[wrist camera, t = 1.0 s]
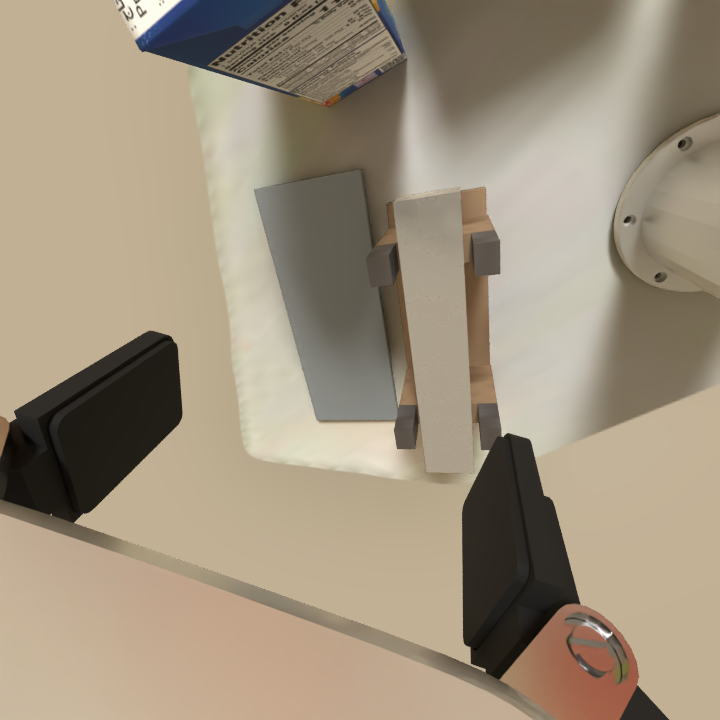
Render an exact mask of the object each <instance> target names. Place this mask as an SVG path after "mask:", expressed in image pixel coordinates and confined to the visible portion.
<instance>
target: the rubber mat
mask: <svg viewBox="0 0 720 720" xmlns="http://www.w3.org/2000/svg"><path fill="white" fill-rule="evenodd" d="M254 192H255V196H256V200H257V203H258V207H259V211H260V214H261V218H262V222H263V225H264V229H265V233H266V236H267V240H268V244H269V247H270V251H271V255H272V258H273V262H274V266H275V269H276V273H277V277H278V280H279V284H280V288H281V291H282V295H283V299H284V302H285V306H286V310H287V313H288V317H289V321H290V324H291V328H292V332H293V335H294V339H295V343H296V346H297V350H298V354H299V357H300V361H301V365H302V368H303V372H304V375H305V379H306V383H307V386H308V390H309V394H310V397H311V401H312V405H313V408H314V412H315V416H316V419H317V420H396V419H397V414H398V404H397V398H396V391H395V384H394V378H393V371H392V365H391V358H390V352H389V345H388V339H387V332H386V326H385V319H384V313H383V306H382V300H381V293H380V287H371V286H370V280H369V274H368V268H367V262H366V257H367V256H368V254H369V253H370V252H371V251H372V249H373V248H374V247H373V241H372V234H371V228H370V221H369V215H368V208H367V202H366V195H365V189H364V182H363V176H362V169H359V170H354V171H348V172H343V173H338V174H333V175H327V176H322V177H317V178H311V179H306V180H301V181H296V182H290V183H285V184H280V185H275V186H269V187H264V188H259V189H254Z"/></svg>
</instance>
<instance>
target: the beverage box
mask: <svg viewBox="0 0 720 720" xmlns="http://www.w3.org/2000/svg"><path fill="white" fill-rule="evenodd" d="M113 2H114V4H115V5H116V7H117V9H118V11H119V13H120V15H121V16H122V18H123V20H124V22H125V23H126V25H127V27H128V29H129V31H130V33H131V34H132V36H133V38H134V40H135V42H136V44H137V45H138V47H139V49H140V50H141V51H142V52H144V51H147V52H150V53H153V54H156V55H160V56H163V57H166V58H170V59H173V60H176V61H179V62H183V63H186V64H189V65H193V66H196V67H199V68H202V69H206V70H209V71H212V72H216V73H219V74H222V75H225V76H229V77H232V78H235V79H238V80H242V81H245V82H248V83H252V84H255V85H258V86H261V87H265V88H268V89H271V90H275V91H278V92H281V93H284V94H288V95H291V96H294V97H298V98H301V99H304V100H307V101H311V102H314V103H317V104H321V105H324V106H327V107H330V106H331V105H333V104H335V103H336V102H338V101H339V100H341V99H343V98H344V97H346V96H348V95H349V94H351V93H353V92H354V91H356V90H357V89H359V88H361V87H362V86H364V85H366V84H367V83H369V82H371V81H372V80H374V79H375V78H377V77H379V76H380V75H382V74H384V73H385V72H387V71H389V70H390V69H392V68H393V67H395V66H397V65H398V64H400V63H402V62H403V61H405V60H407V58H406V55H405V52H404V49H403V46H402V43H401V40H400V36H399V33H398V30H397V27H396V24H395V21H394V18H393V15H392V12H391V9H390V6H389V3H388V0H113Z"/></svg>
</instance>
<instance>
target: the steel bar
mask: <svg viewBox="0 0 720 720" xmlns="http://www.w3.org/2000/svg"><path fill="white" fill-rule="evenodd" d="M393 209H394V217H395V225H396V233H397V241H398V249H399V257H400V265H401V273H402V281H403V289H404V297H405V305H406V313H407V321H408V329H409V337H410V345H411V353H412V361H413V369H414V377H415V385H416V393H417V401H418V409H419V418H420V426H421V434H422V442H423V450H424V458H425V466H426V472H434V473H471V474H474V454H473V433H472V413H471V393H470V373H469V353H468V333H467V313H466V293H465V273H464V252H463V232H462V212H461V192H460V187H455V188H449V189H443V190H437V191H431V192H425V193H419V194H413V195H407V196H401V197H398V198H397V199H396V200H395V201H394V202H393Z"/></svg>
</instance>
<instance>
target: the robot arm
mask: <svg viewBox="0 0 720 720" xmlns="http://www.w3.org/2000/svg"><path fill="white" fill-rule="evenodd" d="M680 140H682V146H681V147H679V148H678V143H679V141H680ZM627 216H629V220H628V221H627V222H623V221H624V219H625V218H626V217H627ZM614 241H615V244H616V248H617V251H618V254H619V256H620V257H621V259H622V261H623V263H624V264H625V265H626V266H627V267H628V268H629V269H630V271H631V272H632V273H633V274H635V275H636V276H638V277H639V278H640V279H642V280H643V281H645V282H647V283H649V284H650V285H652V286H655V287H658V288H662V289H665V290H669V291H678V292H697V291H706V292H707V293H709V294H711V295H712V296H714V297H716V298H718V299H719V300H720V113H719V114H716V115H713V116H710V117H707V118H704V119H702V120H699V121H697V122H695V123H693V124H691V125H689V126H688V127H686V128H684V129H682V130H680V131H678V132H677V133H675V134H674V135H673V136H671V137H670V138H669V139H667V140H666V141H664V142H663V143H662V144H660V145H659V146H658V147H657V148H656V149H655V150H654V151H653V152H652V153H651V154H650V155H649V156H648V157H647V158H646V159H645V160H644V161H643V162H642V163H641V165H640V166H639V167H638V168H637V170H636V171H635V172H634V173H633V175H632V176H631V178H630V180H629V181H628V183H627V185H626V187H625V188H624V190H623V192H622V195H621V197H620V200H619V203H618V205H617V208H616V213H615V219H614ZM657 273H659V274H658V276H656V277H655V275H656V274H657ZM14 413H15V415H16V418H17V419H15V420H13V421H12V422H10V423H9V422H8V421H7V420H6V418H4V417H1V416H0V720H669V719H668V718H667V717H666V716H665V715H664V714H663V713H662V712H661V710H660V709H659V708H658V707H657V706H656V705H655V704H654V703H653V702H652V701H651V700H650V699H649V697H648V696H647V695H646V694H645V693H644V692H643V691H642V690H641V689H640V688H639V686H638V685H637V683H638V678H639V675H638V674H639V673H638V667H637V662H636V659H635V657H634V654H633V652H632V649H631V648H630V646H629V645H628V643H627V641H626V640H625V638H624V637H623V635H622V634H621V633H620V632H619V631H618V630H617V628H616V627H615V626H614V625H613V624H612V623H611V622H610V621H609V620H607V619H606V618H605V617H604V616H602V615H601V614H600V613H598V612H596V611H595V610H593V609H591V608H589V607H587V606H583V605H580V601H579V597H578V594H577V590H576V586H575V582H574V578H573V575H572V571H571V567H570V563H569V559H568V556H567V552H566V548H565V545H564V541H563V537H562V533H561V529H560V526H559V522H558V518H557V514H556V510H555V506H554V504H553V501H552V500H551V499H550V498H549V497H546V496H544V494H543V490H542V487H541V482H540V477H539V473H538V469H537V465H536V461H535V457H534V453H533V448H532V444H531V441H530V440H529V439H527V438H523V437H520V436H516V435H513V434H509V433H507V434H506V435H505V436H504V437H500V436H498V437H497V438H496V439H495V441H494V443H493V445H492V447H491V449H490V451H489V453H488V455H487V458H486V460H485V462H484V464H483V466H482V468H481V470H480V472H479V474H478V476H477V478H476V480H475V482H474V484H473V486H472V488H471V490H470V492H469V494H468V496H467V498H466V500H465V502H464V506H463V511H462V549H463V550H462V552H463V553H462V554H463V639H464V644H465V645H466V646H469V647H471V664H473V665H476V666H479V667H481V668H485V669H486V673H485V672H483V671H481V670H479V669H477V668H474V667H472V666H470V665H467V664H465V663H463V662H460V661H458V660H456V659H453V658H451V657H448V656H446V655H444V654H441V653H439V652H436V651H433V650H430V649H428V648H425V647H423V646H420V645H417V644H415V643H412V642H409V641H407V640H404V639H401V638H399V637H396V636H393V635H391V634H388V633H385V632H383V631H380V630H378V629H375V628H372V627H369V626H366V625H364V624H361V623H358V622H355V621H352V620H349V619H347V618H344V617H341V616H338V615H336V614H333V613H330V612H327V611H324V610H321V609H319V608H316V607H313V606H310V605H307V604H305V603H302V602H299V601H296V600H293V599H290V598H288V597H285V596H282V595H279V594H276V593H274V592H271V591H268V590H265V589H262V588H259V587H257V586H254V585H251V584H248V583H245V582H242V581H239V580H237V579H234V578H231V577H228V576H225V575H222V574H219V573H216V572H214V571H211V570H208V569H205V568H202V567H199V566H196V565H193V564H190V563H188V562H185V561H182V560H179V559H176V558H173V557H171V556H168V555H165V554H162V553H159V552H156V551H153V550H151V549H148V548H145V547H142V546H139V545H136V544H133V543H130V542H127V541H124V540H121V539H118V538H116V537H113V536H110V535H107V534H104V533H101V532H98V531H95V530H92V529H89V528H86V527H83V526H80V525H77V524H75V523H74V522H75V521H76V520H77V519H78V518H79V517H80V516H81V515H82V514H83V513H84V514H85V513H89V512H90V511H92V510H93V509H94V508H95V507H96V506H97V505H98V504H99V503H100V502H101V501H102V500H103V499H104V498H105V497H106V496H107V495H108V494H109V493H110V492H111V491H112V490H113V489H114V488H115V487H116V486H117V485H118V484H119V483H120V482H121V481H122V480H123V479H124V478H125V477H126V476H127V475H128V474H129V473H130V472H131V471H132V470H133V469H134V468H135V467H136V466H137V465H138V464H139V463H140V462H141V461H142V460H143V459H144V458H145V457H146V456H147V455H148V454H149V453H150V452H151V451H152V450H153V449H154V448H155V447H156V446H157V445H158V444H159V443H160V442H161V441H162V440H163V439H164V438H165V437H166V436H167V435H168V434H169V433H170V432H171V431H172V430H173V429H174V428H175V427H176V426H177V425H178V424H179V422H180V421H181V418H182V401H181V388H180V374H179V360H178V348H177V344H176V343H175V342H174V341H173V339H172V337H170V336H169V335H165V334H162V333H158V332H155V331H148V332H146V333H144V334H142V335H141V336H139V337H137V338H136V339H134V340H132V341H131V342H129V343H127V344H126V345H124V346H122V347H121V348H119V349H117V350H115V351H114V352H112V353H110V354H109V355H107V356H105V357H104V358H102V359H100V360H99V361H97V362H95V363H94V364H92V365H90V366H89V367H87V368H85V369H84V370H82V371H80V372H79V373H77V374H75V375H74V376H72V377H70V378H69V379H67V380H65V381H64V382H62V383H60V384H59V385H57V386H55V387H54V388H52V389H50V390H49V391H47V392H45V393H44V394H42V395H40V396H38V397H37V398H35V399H34V400H32V401H30V402H28V403H27V404H25V405H24V406H22V407H20V408H19V409H17V410H15V411H14ZM50 514H52V516H51V515H50Z"/></svg>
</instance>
